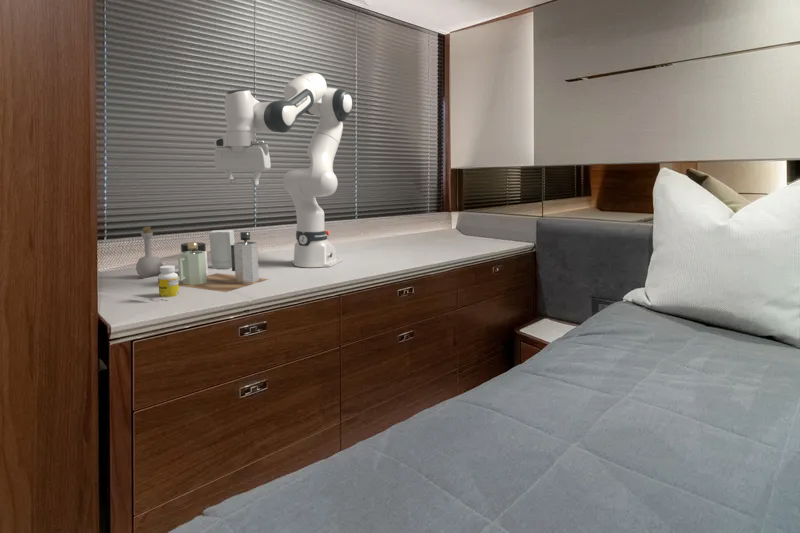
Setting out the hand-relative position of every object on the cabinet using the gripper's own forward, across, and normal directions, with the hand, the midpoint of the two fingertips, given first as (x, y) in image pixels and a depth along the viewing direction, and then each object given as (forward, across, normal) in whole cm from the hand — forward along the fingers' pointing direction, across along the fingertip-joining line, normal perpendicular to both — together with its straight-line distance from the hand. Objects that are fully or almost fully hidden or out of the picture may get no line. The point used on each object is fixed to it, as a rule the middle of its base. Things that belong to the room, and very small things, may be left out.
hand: (243, 184), depth 163 cm
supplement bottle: (+33, +7, +28) cm, 44 cm away
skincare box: (+34, +27, -18) cm, 47 cm away
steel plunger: (+27, -1, +2) cm, 27 cm away
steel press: (+32, 0, +3) cm, 32 cm away
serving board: (+33, +6, +7) cm, 34 cm away
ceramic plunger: (+29, +13, +11) cm, 33 cm away
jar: (+33, +24, 0) cm, 41 cm away
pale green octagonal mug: (+32, +13, +13) cm, 37 cm away
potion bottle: (+33, +38, +7) cm, 51 cm away
